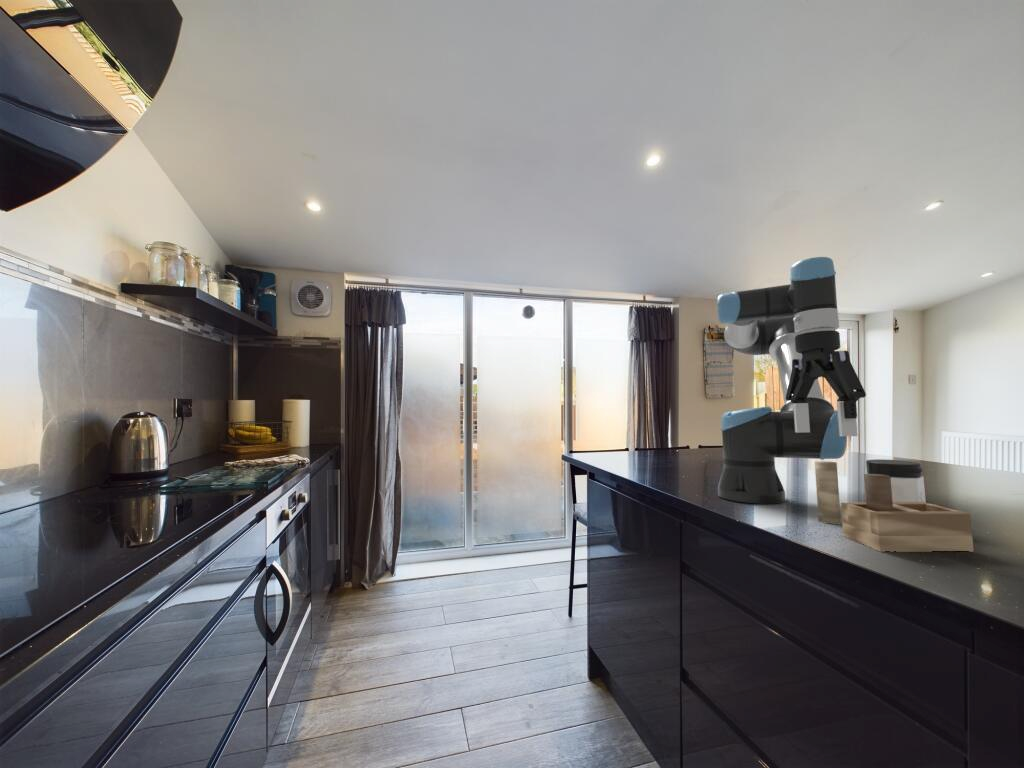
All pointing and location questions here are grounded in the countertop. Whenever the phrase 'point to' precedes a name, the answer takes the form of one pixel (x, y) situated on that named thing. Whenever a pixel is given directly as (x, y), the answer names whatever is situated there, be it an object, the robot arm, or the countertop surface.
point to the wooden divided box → (908, 527)
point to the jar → (901, 478)
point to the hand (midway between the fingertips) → (823, 434)
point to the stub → (878, 492)
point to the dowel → (827, 492)
